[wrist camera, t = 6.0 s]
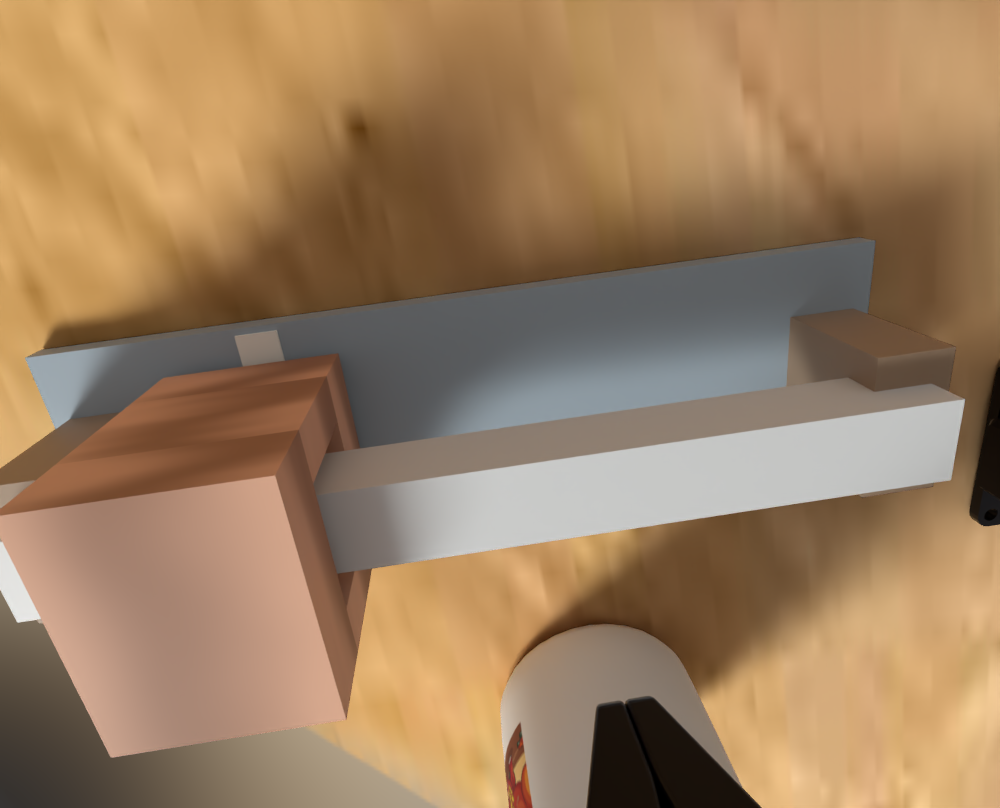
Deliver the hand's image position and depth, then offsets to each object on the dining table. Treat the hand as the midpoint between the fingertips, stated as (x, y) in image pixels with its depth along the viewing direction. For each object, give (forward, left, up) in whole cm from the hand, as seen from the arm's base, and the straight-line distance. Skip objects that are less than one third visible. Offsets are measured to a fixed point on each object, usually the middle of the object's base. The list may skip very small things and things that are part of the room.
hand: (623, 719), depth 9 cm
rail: (+1, 0, -12) cm, 12 cm away
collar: (+8, 0, -11) cm, 13 cm away
